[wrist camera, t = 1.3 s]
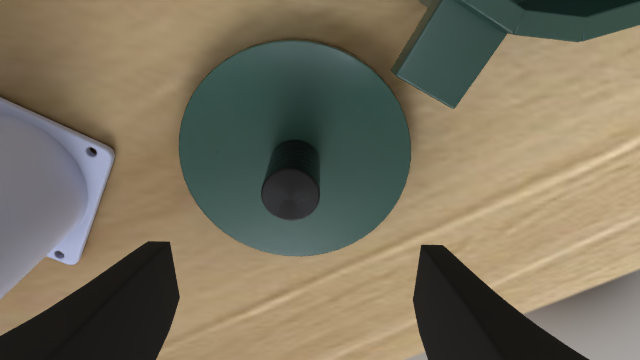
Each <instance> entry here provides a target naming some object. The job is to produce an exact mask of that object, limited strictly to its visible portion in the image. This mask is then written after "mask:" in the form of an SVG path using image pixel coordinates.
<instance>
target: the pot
mask: <svg viewBox="0 0 640 360" xmlns="http://www.w3.org/2000/svg"><path fill="white" fill-rule="evenodd" d="M418 1H420V2H421V3H422V4H424V5H425V6H426V7H428V9H427V11H426V12H425V14H424V16H423V17H422V19H421V21H420V22H419V24H418V26H417V27H416V29H415V31H414V32H413V34H412V36H411V37H410V39H409V40H408V42H407V44H406V45H405V47H404V49H403V50H402V52H401V54H400V55H399V57H398V59H397V60H396V62H395V64H394V65H393V67H392V69H391V71H392V72H393V73H394V74H395V75H396V76H397V77H398V78H400V79H402V80H403V81H405V82H407V83H409V84H410V85H412V86H414V87H416V88H417V89H419V90H421V91H422V92H424V93H426V94H428V95H429V96H431V97H433V98H435V99H436V100H438V101H440V102H442V103H443V104H445V105H447V106H448V107H450V108H453V109H454V108H455V107H456V106H457V104H458V103H459V102H460V100H461V99H462V97H463V96H464V94H465V93H466V92H467V90H468V89H469V87H470V86H471V84H472V83H473V82H474V80H475V79H476V77H477V76H478V75H479V73H480V72H481V70H482V69H483V67H484V66H485V65H486V63H487V62H488V60H489V59H490V57H491V56H492V55H493V53H494V52H495V50H496V49H497V48H498V46H499V45H500V43H501V42H502V40H503V39H504V38H505V36H506V35H507V33H508V34H513V35H520V36H529V37H537V38H546V39H555V40H564V41H572V42H580V41H586V40H589V39H593V38H596V37H600V36H603V35H607V34H610V33H614V32H617V31H621V30H624V29H627V28H631V27H634V26H638V25H640V0H418Z"/></svg>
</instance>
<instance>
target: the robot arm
mask: <svg viewBox="0 0 640 360" xmlns="http://www.w3.org/2000/svg"><path fill="white" fill-rule="evenodd" d="M90 147H92V148H94V149H95V150H96V151H97V154H94V153H93V152H91V150H90ZM114 159H115V153H114V151H113V150H112V148H110V147H109V146H107V145H105V144H103V143H100V142H98V141H96V140H94V139H92V138H89V137H87V136H85V135H83V134H81V133H78V132H76V131H74V130H72V129H69V128H67V127H65V126H63V125H61V124H58V123H56V122H54V121H52V120H50V119H47V118H45V117H43V116H41V115H39V114H36V113H34V112H32V111H30V110H27V109H25V108H23V107H21V106H19V105H16V104H14V103H12V102H10V101H8V100H5V99H3V98H1V97H0V299H1V298H3V297H4V296H5V295H6V294H7V293H8V292H9V291H10V290H11V289H12V288H13V287H14V286H15V285H16V284H17V283H18V282H19V281H20V280H21V279H22V278H23V277H24V276H25V275H27V274H28V273H29V272H30V271H31V270H32V269H33V268H34V267H35V266H36V265H37V264H38V263H39V262H40V261H41V260H42V259H43V258H44V257H45V256H47V257H50V258H52V259H55V260H58V261H60V262H63V263H65V264H69V265H74V264H76V263H77V262H78V261H79V260H80V258H81V255H82V253H83V250H84V247H85V244H86V241H87V238H88V235H89V232H90V229H91V226H92V223H93V220H94V217H95V215H96V212H97V209H98V206H99V203H100V200H101V197H102V194H103V191H104V188H105V185H106V182H107V179H108V177H109V174H110V171H111V168H112V165H113V162H114ZM59 251H61V252H62V253H63V254H62V253H60V252H59ZM179 298H180V296H179V290H178V285H177V279H176V274H175V268H174V263H173V257H172V252H171V246H170V242H155V241H148V242H147V243H145V244H143V245H142V246H140V247H139V248H137V249H136V250H134V251H133V252H132V253H130V254H129V255H127V256H126V257H124V258H123V259H122V260H120V261H119V262H117V263H116V264H115V265H113V266H112V267H110V268H109V269H107V270H106V271H105V272H103V273H102V274H100V275H99V276H97V277H96V278H95V279H93V280H92V281H90V282H89V283H87V284H86V285H84V286H83V287H81V288H80V289H78V290H77V291H75V292H74V293H72V294H70V295H69V296H67V297H66V298H64V299H63V300H61V301H60V302H58V303H56V304H55V305H53V306H52V307H50V308H49V309H47V310H45V311H44V312H42V313H40V314H39V315H37V316H35V317H34V318H32V319H30V320H28V321H27V322H25V323H23V324H21V325H19V326H18V327H16V328H14V329H12V330H10V331H9V332H7V333H5V334H3V335H1V336H0V360H156V358H157V356H158V354H159V352H160V350H161V348H162V345H163V343H164V341H165V339H166V337H167V334H168V332H169V330H170V327H171V324H172V321H173V318H174V315H175V312H176V308H177V305H178V302H179ZM413 303H414V308H415V314H416V319H417V323H418V328H419V333H420V336H421V339H422V342H423V345H424V348H425V352H426V355H427V357H428V360H589V359H587V358H585V357H584V356H582V355H581V354H579V353H577V352H576V351H574V350H573V349H571V348H570V347H568V346H567V345H565V344H564V343H562V342H561V341H559V340H558V339H556V338H555V337H553V336H552V335H550V334H549V333H548V332H546V331H545V330H543V329H542V328H540V327H539V326H537V325H536V324H535V323H533V322H532V321H531V320H529V319H528V318H526V317H525V316H524V315H523V314H522V313H520V312H519V311H518V310H516V309H515V308H514V307H513V306H511V305H510V304H509V303H507V302H506V301H505V300H504V299H503V298H501V297H500V296H499V295H498V294H497V293H495V292H494V291H493V290H492V289H491V288H490V287H488V286H487V285H486V284H485V283H484V282H483V281H482V280H481V279H479V278H478V277H477V276H476V275H475V274H474V273H473V272H472V271H471V270H469V269H468V268H467V267H466V266H465V265H464V264H463V263H462V262H461V261H460V260H459V259H458V258H456V257H455V256H454V255H453V254H452V253H451V252H450V251H449V250H448V249H447V248H445V247H444V246H443V245H421V251H420V257H419V264H418V270H417V277H416V284H415V290H414V297H413Z"/></svg>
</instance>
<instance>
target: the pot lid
mask: <svg viewBox="0 0 640 360" xmlns="http://www.w3.org/2000/svg"><path fill="white" fill-rule="evenodd" d="M179 156H180V164H181V168H182V172H183V175H184V179H185V181H186V184H187V186H188V189H189V191H190V193H191V195H192V196H193V198H194V200H195V201H196V203H197V205H198V206H199V207H200V209H201V210H202V211H203V213H204V214H205V215H206V216H207V217H208V218H209V219H210V220H211V221H212V222H213V223H214V224H215V225H216V226H217V227H218V228H220V229H221V230H222V231H223V232H225V233H226V234H228V235H229V236H231V237H232V238H234V239H235V240H237V241H239V242H241V243H243V244H245V245H247V246H249V247H252V248H255V249H258V250H260V251H264V252H268V253H272V254H277V255H285V256H311V255H318V254H324V253H328V252H332V251H335V250H338V249H341V248H343V247H346V246H348V245H350V244H352V243H354V242H356V241H358V240H359V239H361V238H363V237H364V236H366V235H367V234H368V233H370V232H371V231H372V230H374V229H375V228H376V227H377V226H378V225H379V224H380V223H381V222H382V221H383V220H384V219H385V218H386V217H387V215H388V214H389V213H390V212H391V210H392V209H393V207H394V206H395V204H396V203H397V201H398V199H399V198H400V195H401V193H402V191H403V189H404V187H405V184H406V180H407V177H408V173H409V167H410V161H411V142H410V134H409V129H408V125H407V122H406V118H405V115H404V113H403V111H402V108H401V106H400V104H399V102H398V100H397V99H396V97H395V95H394V94H393V92H392V91H391V89H390V88H389V87H388V85H387V84H386V83H385V82H384V81H383V79H382V78H381V77H380V76H379V75H378V74H377V73H376V72H375V71H374V70H373V69H371V68H370V67H369V66H368V65H367V64H365V63H364V62H362V61H361V60H360V59H358V58H357V57H355V56H354V55H352V54H350V53H347V52H345V51H343V50H341V49H339V48H337V47H334V46H330V45H327V44H324V43H320V42H315V41H309V40H297V39H286V40H275V41H269V42H265V43H261V44H257V45H254V46H252V47H249V48H247V49H244V50H241V51H240V52H238V53H236V54H234V55H233V56H231V57H229V58H227V59H226V60H224V61H223V62H222V63H221V64H219V65H218V66H217V67H216V68H214V69H213V70H212V71H211V72H210V73H209V74H208V75H207V76H206V77H205V78H204V79H203V80H202V82H201V83H200V84H199V86H198V87H197V89H196V90H195V92H194V93H193V95H192V97H191V99H190V101H189V103H188V105H187V107H186V109H185V112H184V116H183V119H182V122H181V128H180V134H179Z"/></svg>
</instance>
